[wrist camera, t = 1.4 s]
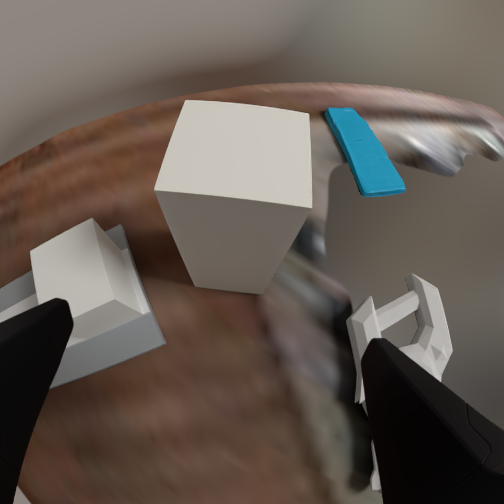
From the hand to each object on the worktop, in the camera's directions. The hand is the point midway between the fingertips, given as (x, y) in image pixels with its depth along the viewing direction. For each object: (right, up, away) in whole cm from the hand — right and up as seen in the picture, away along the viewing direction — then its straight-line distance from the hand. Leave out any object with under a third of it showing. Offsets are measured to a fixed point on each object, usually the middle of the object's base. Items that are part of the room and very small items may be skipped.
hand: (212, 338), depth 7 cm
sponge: (+13, +13, +20) cm, 27 cm away
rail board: (-16, -4, +11) cm, 20 cm away
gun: (+13, -9, +12) cm, 20 cm away
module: (-1, +2, +14) cm, 14 cm away
